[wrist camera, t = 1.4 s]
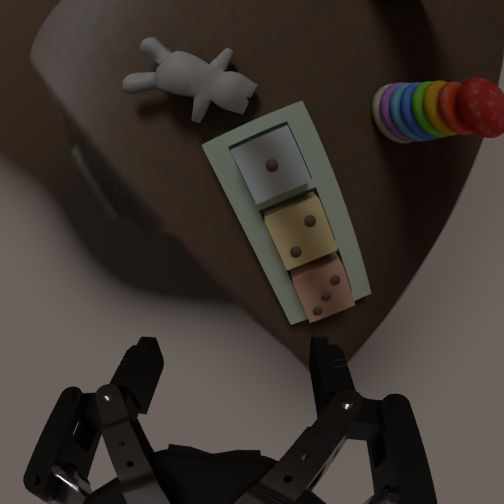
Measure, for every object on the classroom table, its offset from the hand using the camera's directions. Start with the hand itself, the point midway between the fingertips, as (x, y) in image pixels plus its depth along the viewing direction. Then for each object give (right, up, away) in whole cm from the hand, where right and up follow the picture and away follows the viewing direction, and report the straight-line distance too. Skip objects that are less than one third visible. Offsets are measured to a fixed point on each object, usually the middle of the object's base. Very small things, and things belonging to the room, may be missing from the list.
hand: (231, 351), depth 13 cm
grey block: (+3, +15, +16) cm, 22 cm away
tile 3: (+10, +1, +21) cm, 23 cm away
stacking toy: (+20, +23, +15) cm, 33 cm away
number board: (+7, +9, +21) cm, 24 cm away
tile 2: (+6, +8, +19) cm, 21 cm away
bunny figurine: (-6, +26, +15) cm, 30 cm away
